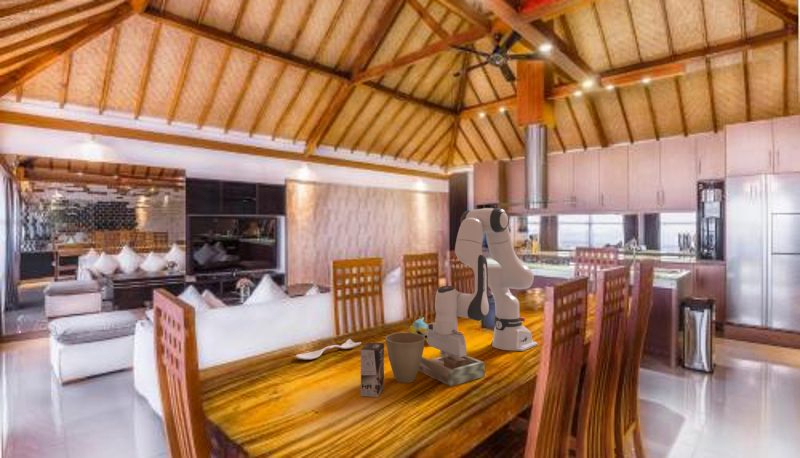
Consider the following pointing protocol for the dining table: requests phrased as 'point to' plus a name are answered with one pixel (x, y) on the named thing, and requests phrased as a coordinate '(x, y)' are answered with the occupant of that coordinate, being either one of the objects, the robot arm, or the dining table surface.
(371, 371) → the coffee box
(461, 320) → the dining table surface
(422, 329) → the decorative bird
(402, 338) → the plant pot
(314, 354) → the white plastic spork
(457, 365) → the walnut block
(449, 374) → the tray
